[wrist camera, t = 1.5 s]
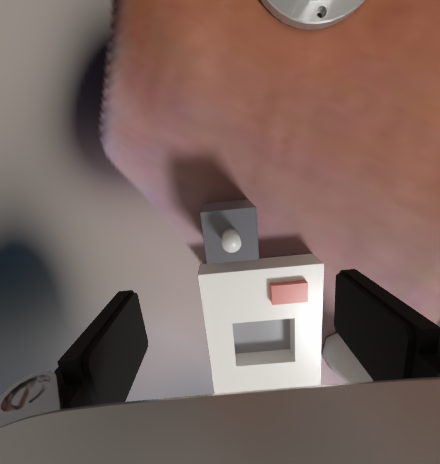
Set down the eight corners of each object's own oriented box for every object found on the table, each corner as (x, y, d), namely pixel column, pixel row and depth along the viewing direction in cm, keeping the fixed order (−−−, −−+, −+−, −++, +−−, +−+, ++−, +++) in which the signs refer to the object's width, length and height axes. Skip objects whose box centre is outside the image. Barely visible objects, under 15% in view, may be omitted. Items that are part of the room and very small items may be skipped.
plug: (204, 203, 25) (197, 217, 17) (247, 198, 25) (260, 211, 17) (209, 243, 26) (205, 273, 19) (250, 239, 26) (263, 268, 18)
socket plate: (200, 264, 27) (197, 278, 23) (312, 253, 26) (326, 266, 23) (215, 375, 32) (215, 401, 28) (310, 368, 31) (322, 393, 28)
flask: (371, 322, 29) (446, 396, 20) (373, 363, 31) (441, 449, 21) (318, 332, 30) (365, 408, 20) (323, 372, 32) (368, 460, 22)
